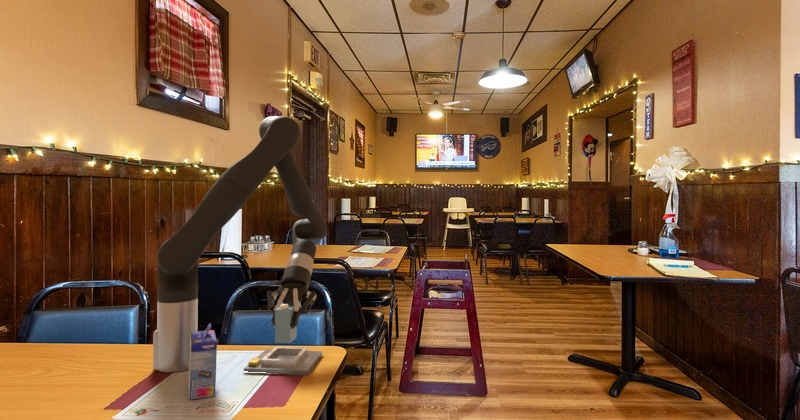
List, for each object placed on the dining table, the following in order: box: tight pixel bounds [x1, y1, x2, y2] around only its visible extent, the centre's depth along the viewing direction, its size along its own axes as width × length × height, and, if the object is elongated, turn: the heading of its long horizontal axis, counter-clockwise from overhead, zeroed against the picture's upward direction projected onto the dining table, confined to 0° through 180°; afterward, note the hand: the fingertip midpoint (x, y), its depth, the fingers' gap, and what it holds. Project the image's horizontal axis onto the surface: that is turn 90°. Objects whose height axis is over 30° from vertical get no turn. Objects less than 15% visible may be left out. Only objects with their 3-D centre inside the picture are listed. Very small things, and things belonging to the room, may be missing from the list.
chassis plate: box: [243, 346, 323, 377], centre depth 109 cm, size 16×14×3 cm
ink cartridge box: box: [187, 322, 218, 401], centre depth 93 cm, size 10×6×14 cm, turn 27°
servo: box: [274, 304, 298, 344], centre depth 109 cm, size 4×5×10 cm
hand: (283, 326), depth 107 cm, fingers closed on servo, 4 cm apart
